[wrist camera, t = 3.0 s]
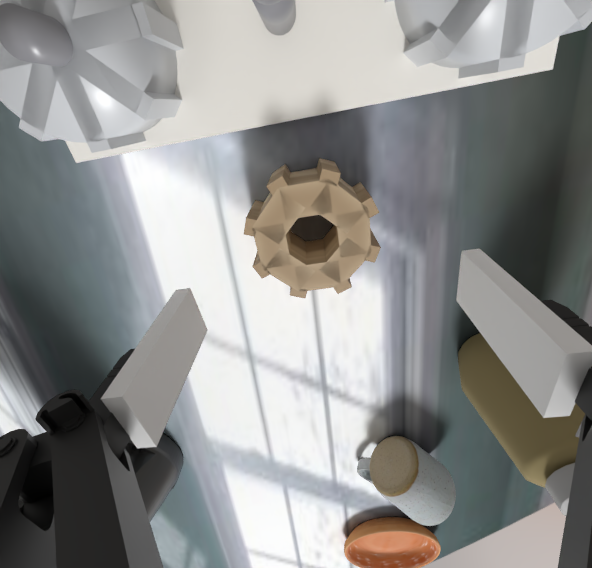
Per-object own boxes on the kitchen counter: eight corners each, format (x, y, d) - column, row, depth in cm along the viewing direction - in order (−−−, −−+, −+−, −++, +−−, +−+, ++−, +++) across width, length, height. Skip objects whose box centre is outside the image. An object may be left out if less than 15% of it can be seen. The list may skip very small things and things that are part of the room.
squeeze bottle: (501, 305, 29) (723, 531, 14) (542, 348, 32) (768, 579, 16) (430, 351, 32) (547, 578, 17) (473, 387, 35) (608, 612, 20)
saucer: (337, 514, 51) (339, 535, 49) (436, 507, 50) (443, 529, 47) (347, 553, 59) (349, 574, 57) (432, 549, 57) (439, 570, 55)
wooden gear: (268, 276, 28) (262, 304, 24) (242, 171, 24) (230, 185, 20) (370, 261, 27) (382, 287, 23) (364, 149, 23) (377, 159, 19)
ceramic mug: (406, 421, 38) (426, 488, 32) (442, 450, 41) (468, 516, 35) (342, 454, 43) (348, 519, 36) (378, 477, 45) (391, 542, 39)
